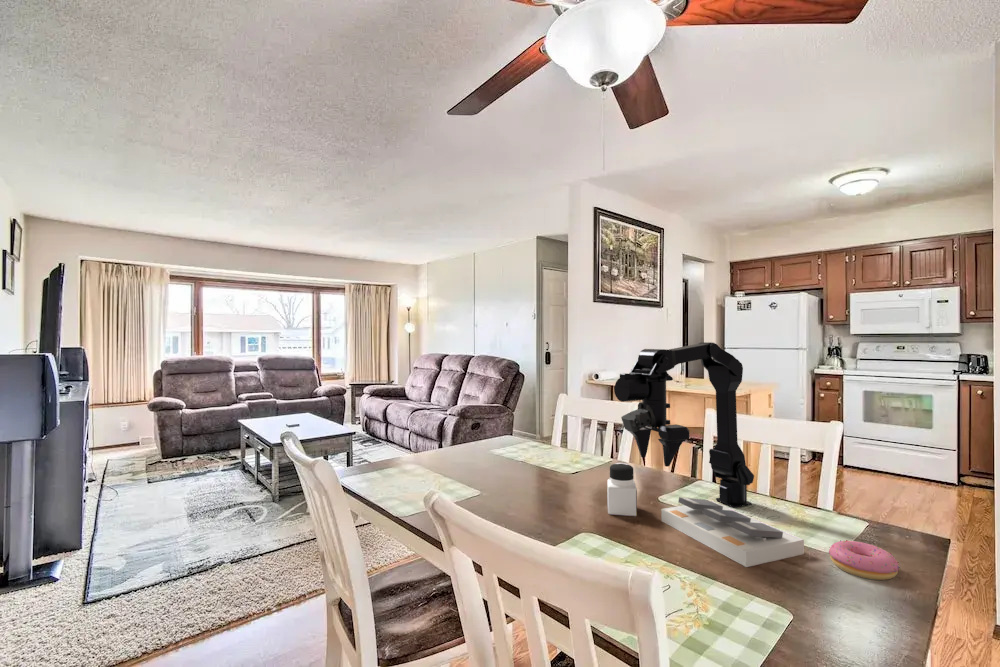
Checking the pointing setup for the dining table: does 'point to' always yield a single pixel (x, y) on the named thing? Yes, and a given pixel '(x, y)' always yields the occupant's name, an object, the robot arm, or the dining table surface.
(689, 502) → the block
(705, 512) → the rocker middle
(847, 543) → the doughnut
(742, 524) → the rocker
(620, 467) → the medicine bottle
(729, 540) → the switch unit
